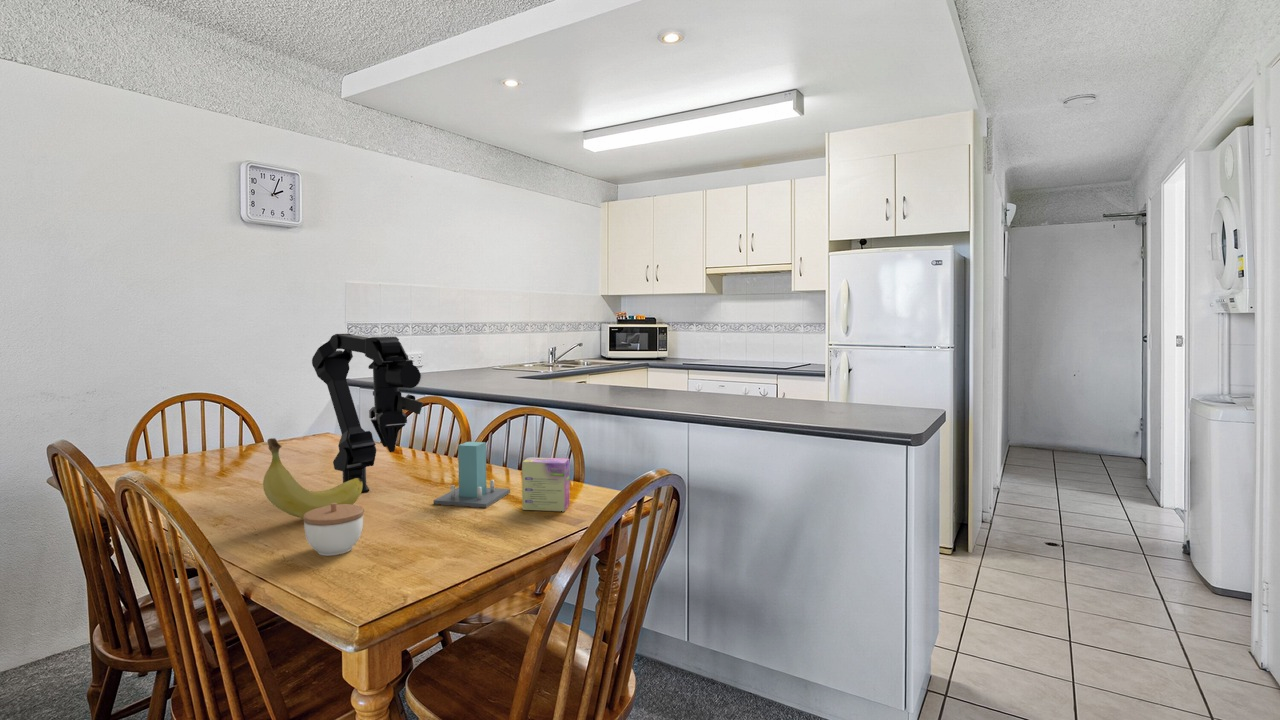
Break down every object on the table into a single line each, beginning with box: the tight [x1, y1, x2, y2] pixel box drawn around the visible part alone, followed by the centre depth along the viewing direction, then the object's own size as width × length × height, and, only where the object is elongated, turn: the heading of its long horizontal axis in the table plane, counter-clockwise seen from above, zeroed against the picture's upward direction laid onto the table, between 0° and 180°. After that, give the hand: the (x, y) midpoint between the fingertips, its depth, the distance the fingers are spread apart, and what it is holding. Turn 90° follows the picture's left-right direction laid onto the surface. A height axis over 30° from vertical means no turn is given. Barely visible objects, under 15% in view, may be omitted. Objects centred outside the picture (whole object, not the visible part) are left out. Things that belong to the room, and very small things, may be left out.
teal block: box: [457, 441, 488, 498], centre depth 165 cm, size 5×5×13 cm
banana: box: [262, 437, 363, 519], centre depth 148 cm, size 23×6×20 cm, turn 146°
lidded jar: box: [302, 503, 365, 557], centre depth 128 cm, size 11×11×9 cm
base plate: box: [432, 479, 511, 508], centre depth 165 cm, size 14×14×4 cm
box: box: [521, 456, 571, 513], centre depth 157 cm, size 10×6×12 cm, turn 84°
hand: (388, 449), depth 163 cm, fingers open, 9 cm apart
